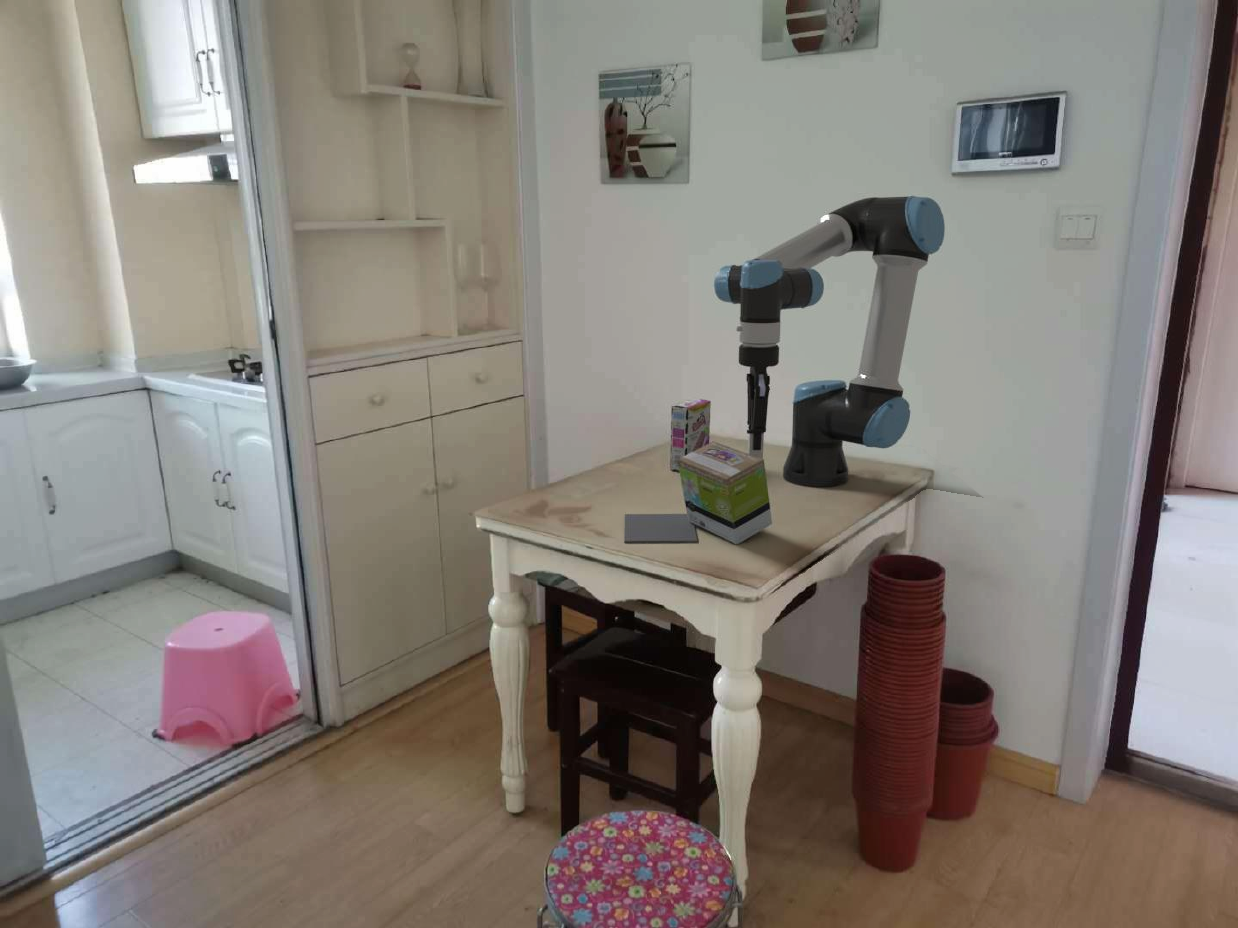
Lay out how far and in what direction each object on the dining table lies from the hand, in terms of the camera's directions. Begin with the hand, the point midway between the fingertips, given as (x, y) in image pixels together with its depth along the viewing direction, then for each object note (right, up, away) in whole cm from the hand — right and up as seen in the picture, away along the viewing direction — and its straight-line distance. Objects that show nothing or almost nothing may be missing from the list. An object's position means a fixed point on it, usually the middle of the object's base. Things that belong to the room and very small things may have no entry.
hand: (755, 464), depth 178 cm
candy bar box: (-9, -1, +48) cm, 49 cm away
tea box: (-5, -12, +4) cm, 13 cm away
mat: (-18, -13, +5) cm, 23 cm away
